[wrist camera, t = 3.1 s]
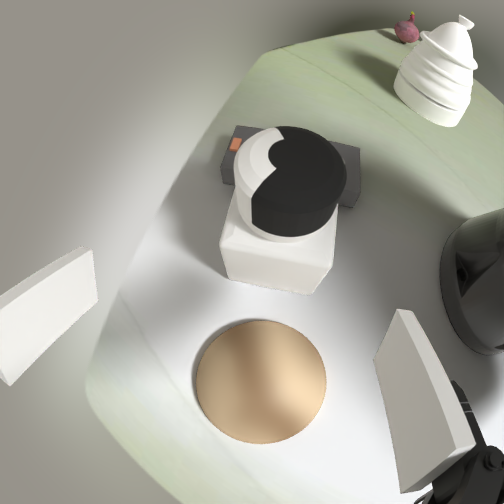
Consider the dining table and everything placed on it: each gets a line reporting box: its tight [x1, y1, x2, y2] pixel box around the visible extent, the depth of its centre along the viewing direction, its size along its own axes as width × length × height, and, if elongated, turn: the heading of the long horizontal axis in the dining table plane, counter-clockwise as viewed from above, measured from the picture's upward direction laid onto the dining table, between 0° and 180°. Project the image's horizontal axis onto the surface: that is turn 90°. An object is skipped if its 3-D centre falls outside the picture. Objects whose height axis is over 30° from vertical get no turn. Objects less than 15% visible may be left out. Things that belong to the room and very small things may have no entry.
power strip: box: [220, 126, 360, 208], centre depth 27 cm, size 13×6×3 cm, turn 78°
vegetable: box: [394, 12, 419, 43], centre depth 41 cm, size 6×6×10 cm
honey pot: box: [394, 15, 477, 127], centre depth 27 cm, size 13×13×18 cm
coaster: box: [196, 321, 326, 444], centre depth 20 cm, size 10×10×1 cm
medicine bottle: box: [219, 126, 347, 295], centre depth 19 cm, size 7×7×12 cm
